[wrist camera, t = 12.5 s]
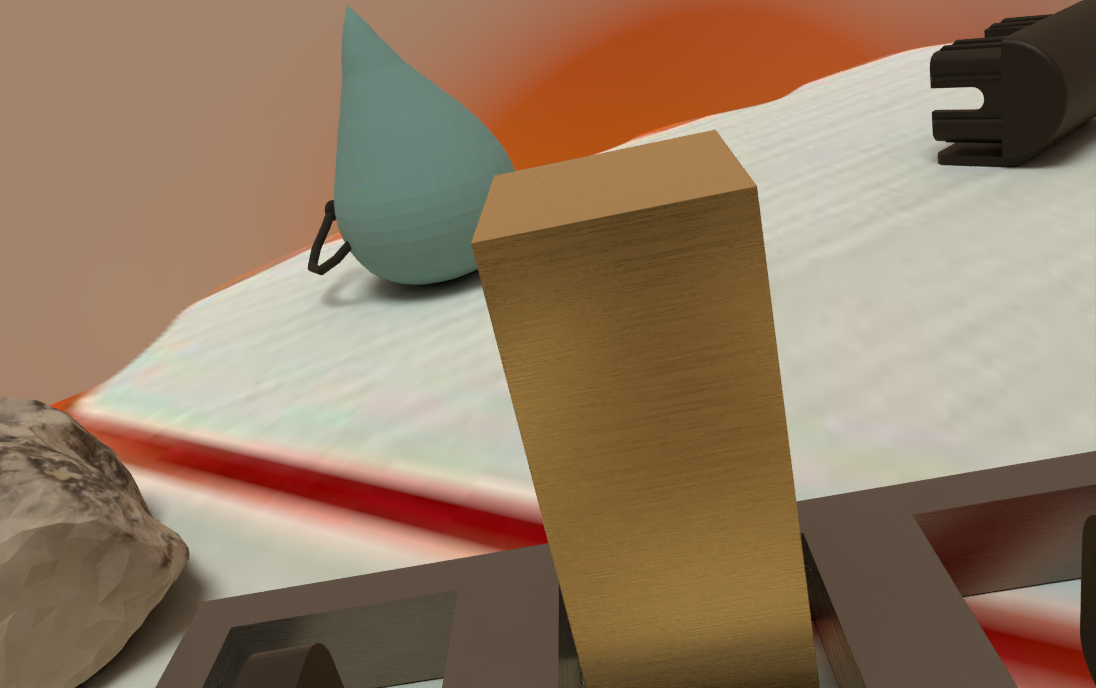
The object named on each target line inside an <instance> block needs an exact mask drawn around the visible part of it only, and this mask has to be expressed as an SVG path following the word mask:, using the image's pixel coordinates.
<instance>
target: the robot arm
mask: <svg viewBox="0 0 1096 688" xmlns="http://www.w3.org/2000/svg"><path fill="white" fill-rule="evenodd" d="M1080 637H1081V644H1082V649H1083V653H1084V657H1085V660H1086V663H1087V666H1088V669H1089V671H1090V674H1091V676H1092V678H1093V680H1094V682H1095V684H1096V514H1095V515H1091V516H1089V517H1088V518H1087V519H1086V521H1085V523H1084V526H1083V533H1082V568H1081V613H1080ZM234 688H344V686H343V683H342V681H341V678H340V676H339V673H338V671H337V668H336V666H335V663H334V661H333V658H332V656H331V654H330V652H329V651H328V649H327V648H326V647H325V646H324V645H323V644H321V643H315V644H309V645H303V646H297V647H291V648H285V649H279V650H273V651H267V652H261V653H256V654H253V655H251V656H250V657H249V658H248V659H247V660H246V662H245V664H244V666H243V668H242V670H241V672H240V675H239V677H238V679H237V682H236V684H235V686H234Z"/></svg>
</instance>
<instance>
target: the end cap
mask: <svg viewBox="0 0 1096 688" xmlns="http://www.w3.org/2000/svg"><path fill="white" fill-rule="evenodd" d="M1003 36H1005V37H1003ZM989 37H991V38H989ZM930 81H931V88H956V87H975V88H978V89H979V90H981V92H982V93H983V95H984V103H983V106H982V107H981V108H980V109H976V110H935V111H933V112H932V126H933V136H934V139H935V140H936V141H946V142H955V143H954V144H952V145H951V146H949V147H947V148H945V149H944V150H942V151H940V152H939V153H938V163H939V164H940V165H955V166H983V167H1012V166H1017V165H1020V164H1022V163H1023V162H1025V161H1027V160H1028V159H1030V158H1031V157H1033V156H1034V155H1036V154H1037V153H1039V152H1041V151H1042V150H1044V149H1045V148H1047V147H1048V146H1050V145H1052V144H1053V143H1055V142H1056V141H1058V140H1059V139H1061V138H1063V137H1064V136H1066V135H1067V134H1069V133H1070V132H1072V131H1074V130H1075V129H1077V128H1078V127H1080V126H1081V125H1083V124H1084V123H1086V122H1088V121H1089V120H1091V119H1092V118H1094V117H1095V116H1096V0H1083V1H1080V2H1078V3H1076V4H1074V5H1072V6H1070V7H1068V8H1066V9H1064V10H1062V11H1059V12H1057V13H1055V14H1051V15H1038V16H1027V17H1015V18H1005V19H1003V20H1002V21H1001V23H994V24H992V25H991V26H990V27H989V28H988V29H985V38H978V39H965V40H964V39H963V40H956V41H955V42H954V43H953V44H952V45H945V46H943V47H942V48H941V49H940V50H939V51H937V52H935V53H934V54H933V55H932V57H931V61H930Z"/></svg>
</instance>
